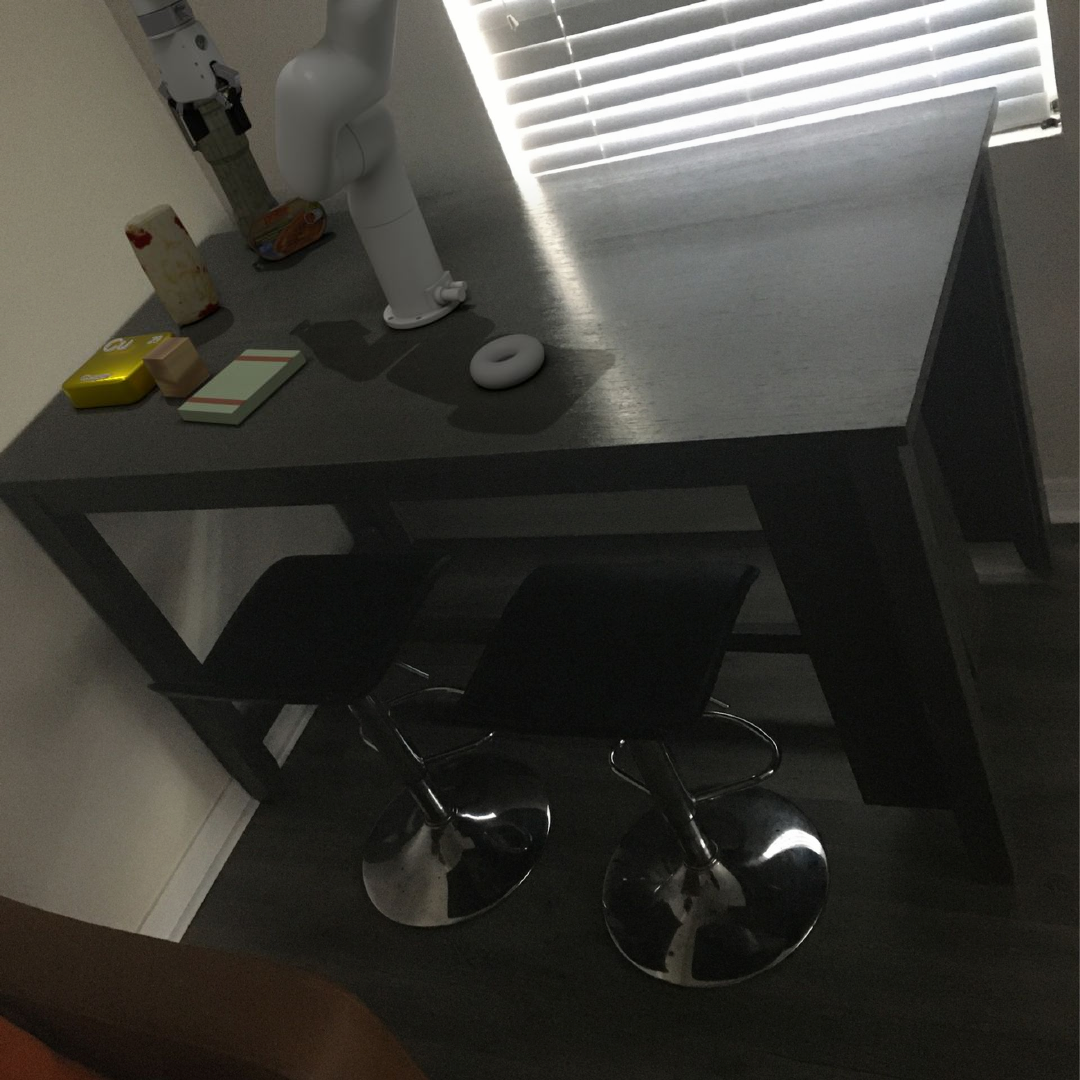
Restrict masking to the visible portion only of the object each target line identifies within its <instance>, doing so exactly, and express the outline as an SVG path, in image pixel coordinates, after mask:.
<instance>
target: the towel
mask: <svg viewBox="0 0 1080 1080" xmlns="http://www.w3.org/2000/svg"><path fill="white" fill-rule="evenodd" d="M306 363H307V360H306V357H305V355H304V354H303V352H302V350H299V349H298V350H296V349H293V350H291V349H254V348H253V349H247V348H246V350H244V351H243V352H242V353H241V354H240V355H238V356H237V357H236V358H234V359H233V361H232V362H231V363H229V364H228V365H226V367H224V368H223V369H222V370H221V371H220V372H219V373H218V374H216V375H215V376H214V377H213V378H212V379H210V380H209V381H208V382H207V383H206V384H205V385H204V386H203V387H201V388H200V389H199V390H198V391H197V392H195V393H194V394H193V395H192V396H190V397H189V398H187V400H186V401H185V402H184V403H183V404H181V405H180V407H178V408H177V409H176V410H177V412H178V413H179V415H180V417H181V419H182V420H183V421H186V422H199V423H200V422H201V423H213V424H214V423H215V424H226V425H235V426H236V425H237V426H238V425H239V424H241V423H242V422H243V421H244V420H245V419H246V418H247V417H248V416H250V415H251V414H252V412H254V411H255V410H256V409H257V408H258V407H259V406H260V405H261V404H262V403H264V402H265V401H266V400H267V399H268V398H269V397H270V396H271V395H273V393H275V392H276V391H277V389H279V388H280V387H281V386H282V385H283V384H284V383H285V382H287V380H288V379H290V377H292V376H293V375H294V374H295V373H296V372H297V371H298V370H299V369H301V368H302V366H304V365H305V364H306Z"/></svg>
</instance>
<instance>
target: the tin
mask: <svg viewBox="0 0 1080 1080" xmlns="http://www.w3.org/2000/svg"><path fill="white" fill-rule="evenodd" d="M327 224H328V216H327V213H326V210H325V208H324V207H323V205H322V204H321V203H320V201H319V202H310V201H306V200H303V199H301V198H299V197H298V196H294V197H292V198H290V199H288V200H286V201H284V202H282V203H280V204H279V206H277V207H275V208H273V209H271V210H269V211H267V212H265V213H263V214H261V215H259V216H258V217H256V218H255V219H254V220H253V222H252V223H251V225H250V228H249V241H250V244H251V246H252V247H253V248H252V249H253V250H254V251H255V252H256V253H257V254H258V255H259V256H260V257H262V258H263V259H266V260H268V261H269V260H270V261H279V260H282V259H284V258H287V257H288V256H290V255H291V254H293V253H295V252H297V251H299V250H302V249H303V248H305V247H306V246H309V245H310V244H313V243H314V242H316V241H318V240H319V239H320V238H321V237H322V236H323V235H324V233H325V231H326V229H327Z"/></svg>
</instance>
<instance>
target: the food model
mask: <svg viewBox="0 0 1080 1080" xmlns="http://www.w3.org/2000/svg"><path fill="white" fill-rule="evenodd" d="M124 234H125V236H126V238H127V240H128V242H129V244H130V246H131V248H132V251H133V252H134V255H135V258H136V259H137V261H138V263H139V265H140V267H141V268H142V271H143V272H144V274H145V276H146V277H147V279H148V281H149V282H150V284H151V286H152V287H153V289H154V291H155V293H156V295H157V296H158V298H159V300H160V301H161V303H162V304H163V306H164V308H165V309H166V310H167V312H168V313H169V315H170V317H171V319H172V321H173V322H174V324H176V325H177V326H182V325H184V326H185V325H189V324H192V323H194V322H196V321H199V320H201V319H203V318H204V317H207V316H208V315H210V314H212V313H214V312H216V311H217V310H218V309H219V307H220V306H219V305H220V303H219V296H218V292H217V290H216V287H215V284H214V281H213V278H212V276H211V274H210V271H209V270H208V267H207V265H206V263H205V261H204V259H203V257H202V254H201V253H200V251H199V249H198V247H197V246H196V244H195V242H194V240H193V238H192V236H191V235H190V233H189V232H188V230H187V228H186V227H185V225H184V224H183V222H182V220H181V219H180V218H179V216H178V214H177V213H176V212H175V210H174V208H173V207H172V205H170V204H168V203H164V204H159V205H155V206H154V207H152V208H150V209H148V210H146V211H145V212H143V213H141V214H137V215H134V216H133V217H132V218H131V219H130V220H128V221H127V222H126V224H125V225H124Z"/></svg>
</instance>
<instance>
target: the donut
mask: <svg viewBox="0 0 1080 1080" xmlns="http://www.w3.org/2000/svg"><path fill="white" fill-rule="evenodd" d="M544 361H545V348H544V345H543V344H542V343H541V342H540V340H539V339H538V338H536V337H534V336H531V335H529V334H525V333H524V334H523V333H516V334H508V335H505V336H501V337H499V338H498V337H497V338H496V339H494V340H492V341H490V342H488V343H486V344H485V345H484V346H482V347H481V348H480V349H478V350H477V351H476V352H475V354H474V355H473V357H472V359H471V361H470V364H469V373H470V376H471V378H472V379H473V381H474V382H475V383H476V384H477V385H478V386H480V387H483V388H485V389H492V390H501V389H507V388H510V387H514V386H516V385H519V384H521V383H523V382H525V381H526V380H529V379H530V378H532V377H533V376H534V375H535V374H536V373H537V372H538V371H539V370H540V368H541V367H542V365H543V364H544Z"/></svg>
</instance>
